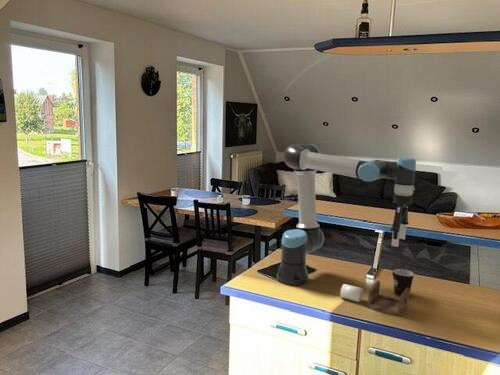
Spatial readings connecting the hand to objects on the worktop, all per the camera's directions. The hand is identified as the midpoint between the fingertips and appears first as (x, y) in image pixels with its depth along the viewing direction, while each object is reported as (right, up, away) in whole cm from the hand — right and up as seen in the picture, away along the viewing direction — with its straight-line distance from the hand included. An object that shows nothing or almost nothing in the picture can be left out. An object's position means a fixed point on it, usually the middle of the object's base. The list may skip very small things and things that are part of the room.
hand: (398, 242), depth 182 cm
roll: (-21, -25, -1) cm, 32 cm away
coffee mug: (+4, -24, +8) cm, 26 cm away
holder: (-7, -26, -7) cm, 28 cm away
